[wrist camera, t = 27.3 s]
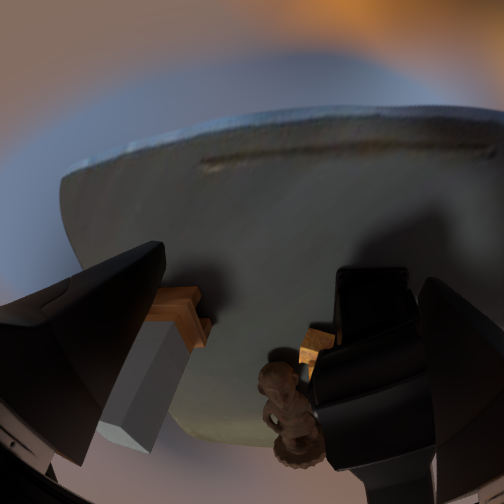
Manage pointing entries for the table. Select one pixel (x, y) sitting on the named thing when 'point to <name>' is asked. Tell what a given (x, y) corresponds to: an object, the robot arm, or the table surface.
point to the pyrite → (314, 347)
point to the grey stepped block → (146, 383)
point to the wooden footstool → (183, 311)
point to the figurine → (290, 417)
